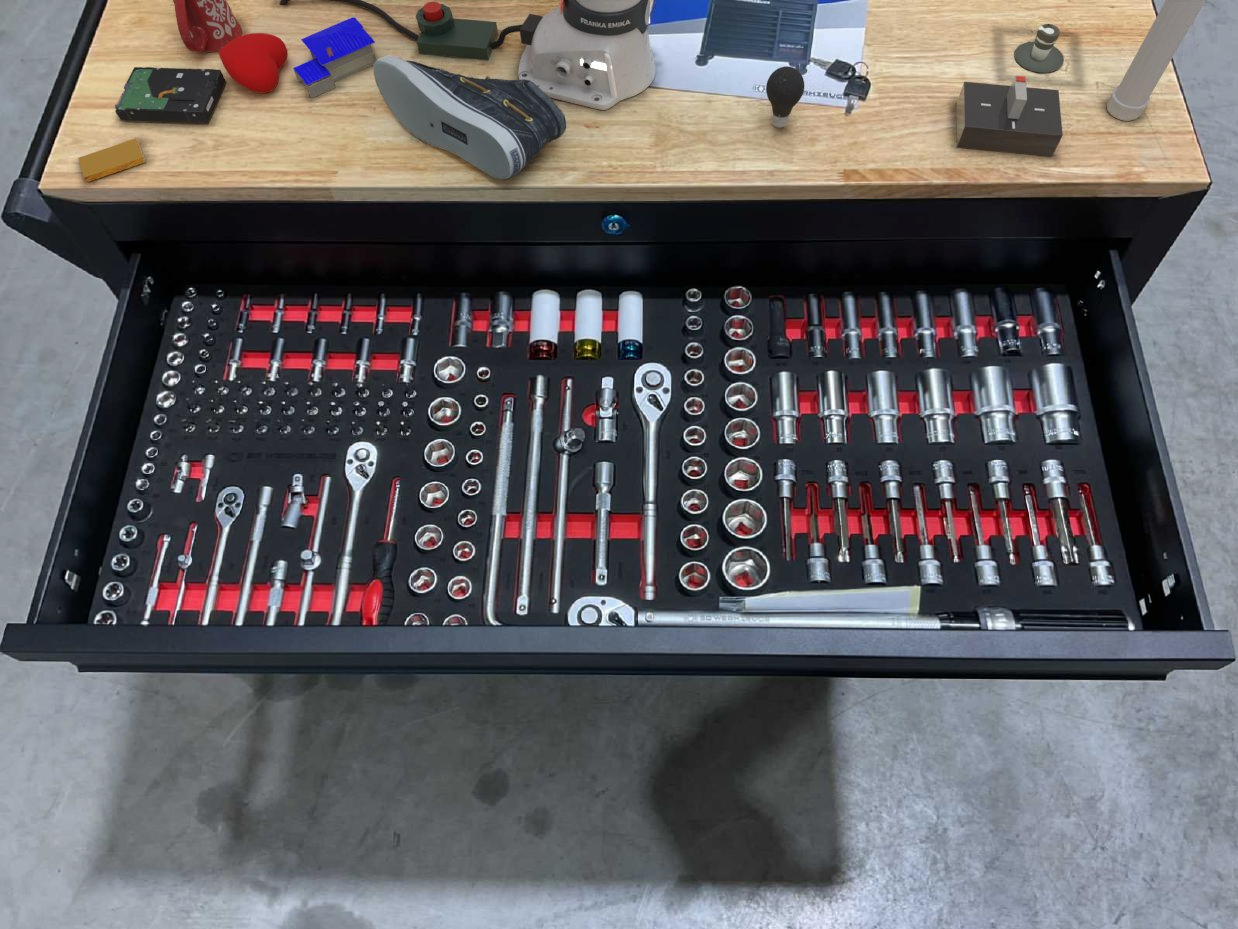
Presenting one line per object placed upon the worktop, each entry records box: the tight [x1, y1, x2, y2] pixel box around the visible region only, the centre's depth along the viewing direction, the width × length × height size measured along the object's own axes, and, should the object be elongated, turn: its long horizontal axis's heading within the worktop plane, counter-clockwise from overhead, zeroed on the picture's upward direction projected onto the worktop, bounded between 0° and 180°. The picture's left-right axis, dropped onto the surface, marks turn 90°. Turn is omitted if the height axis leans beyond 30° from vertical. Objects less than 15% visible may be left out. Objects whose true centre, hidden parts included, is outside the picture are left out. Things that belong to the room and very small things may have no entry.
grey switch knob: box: [1007, 75, 1027, 119], centre depth 132 cm, size 5×2×4 cm, turn 170°
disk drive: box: [114, 66, 227, 125], centre depth 145 cm, size 10×3×15 cm
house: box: [292, 16, 377, 99], centre depth 147 cm, size 11×14×6 cm
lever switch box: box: [955, 81, 1063, 158], centre depth 136 cm, size 14×10×4 cm
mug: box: [172, 0, 243, 53], centre depth 147 cm, size 13×9×14 cm
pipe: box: [1106, 0, 1207, 122], centre depth 126 cm, size 6×6×30 cm
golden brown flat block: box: [77, 137, 146, 183], centre depth 139 cm, size 9×1×5 cm
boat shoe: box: [372, 55, 567, 180], centre depth 137 cm, size 11×30×14 cm
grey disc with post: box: [1014, 23, 1065, 74], centre depth 143 cm, size 12×12×5 cm
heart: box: [218, 32, 289, 94], centre depth 146 cm, size 12×5×10 cm
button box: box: [415, 3, 499, 61], centre depth 149 cm, size 13×8×4 cm, turn 80°
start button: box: [422, 0, 443, 21], centre depth 148 cm, size 3×3×2 cm
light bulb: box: [765, 65, 805, 129], centre depth 135 cm, size 6×6×10 cm
